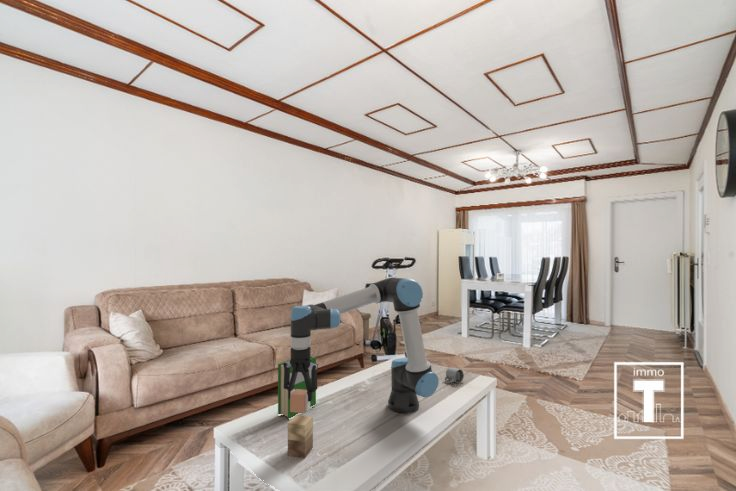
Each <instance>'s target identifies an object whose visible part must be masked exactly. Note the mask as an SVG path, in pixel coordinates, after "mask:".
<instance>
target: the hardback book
mask: <svg viewBox="0 0 736 491" xmlns="http://www.w3.org/2000/svg"><path fill="white" fill-rule="evenodd" d="M290 360H291V359H289V360H286V361H283V362H280V363H278V364H277V415H278V414H283V415H285V416H287V417H286V418H287V419H288V418H291V417H293V416H295V415H296V414H298V413H296V412H290V399H289V398H288V390H287V389H284V366H283V363H285V362H287V361H288V362H289V361H290ZM310 360H311V363H313V364H317V357H316V356H312V355H311V356H310ZM308 369H309V376H310V380H311V366H310V367H309V368H308ZM292 370H293V368H292V366H291V365H290V379H291V376H292ZM311 384H312V380H311ZM293 389H295V390H296V389H302V390H307V388H306V384H305V380H304V376H303V375H302V373H301V372H298V373H297V377H296V381H295V385H294V388H293ZM315 404H316V405H317V390H316V391H315V392H312V401H310V407H311V406H313V405H315ZM283 415H282V416H283ZM285 416H284V417H285Z"/></svg>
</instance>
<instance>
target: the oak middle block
mask: <svg viewBox="0 0 736 491" xmlns="http://www.w3.org/2000/svg"><path fill="white" fill-rule="evenodd" d="M313 418H314V417H313V416H305V415H296V416H295V417H294V418H293V419H291V420H288V422H287V441H288V440H295V441H302V442H305V441H306V440H307V439H308V438H309V437H310V435H311V434H312V433H313V434H314V422H313V421H314V419H313Z"/></svg>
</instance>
